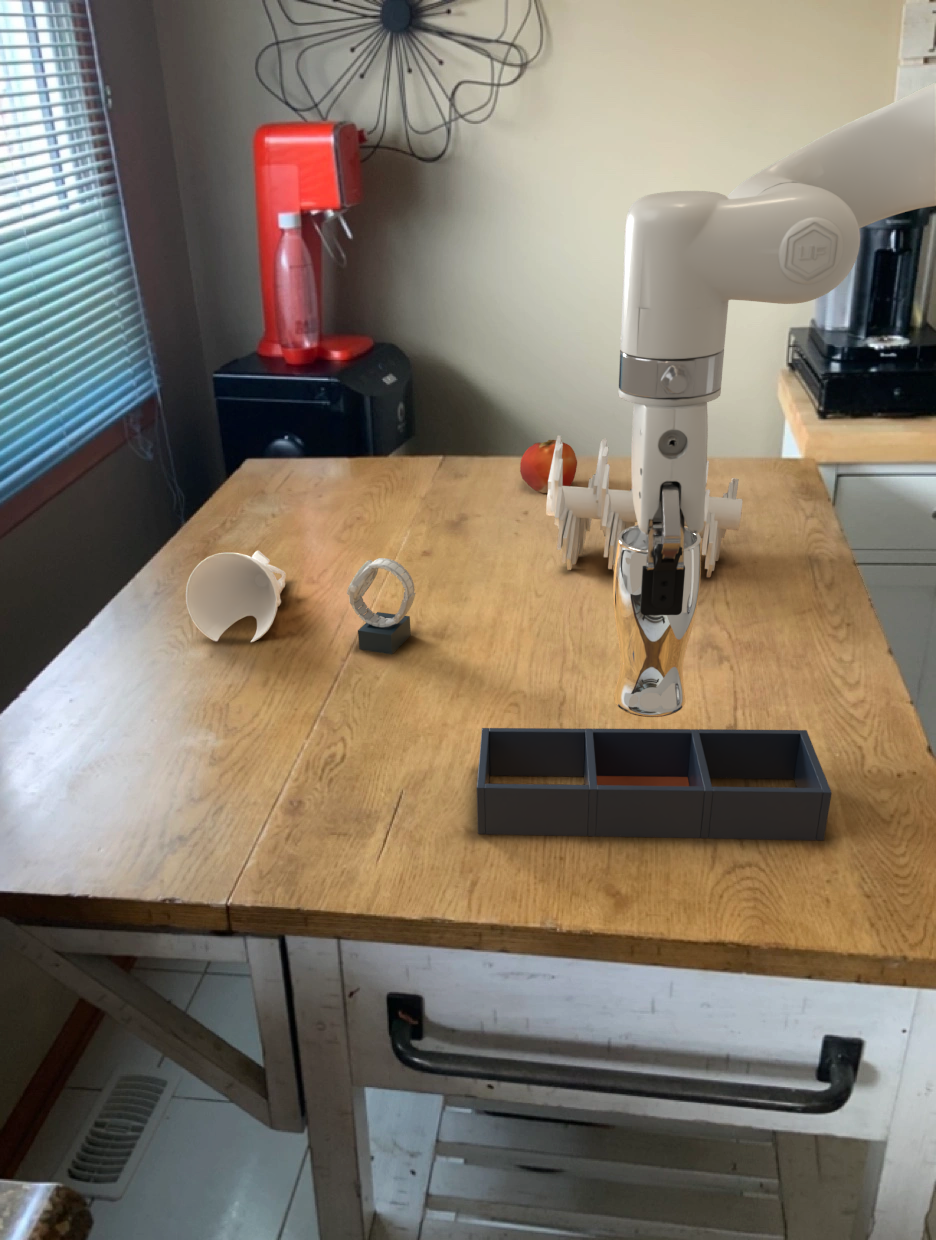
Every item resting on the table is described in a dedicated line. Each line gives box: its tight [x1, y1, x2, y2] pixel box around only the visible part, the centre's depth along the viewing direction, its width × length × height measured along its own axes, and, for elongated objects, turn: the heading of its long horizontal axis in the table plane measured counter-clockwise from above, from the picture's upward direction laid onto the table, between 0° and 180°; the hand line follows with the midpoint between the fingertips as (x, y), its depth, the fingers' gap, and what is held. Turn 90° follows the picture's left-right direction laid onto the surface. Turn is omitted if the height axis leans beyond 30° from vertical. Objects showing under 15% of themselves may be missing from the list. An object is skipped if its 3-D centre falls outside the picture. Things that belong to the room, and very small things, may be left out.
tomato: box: [519, 439, 578, 494], centre depth 182 cm, size 9×9×8 cm
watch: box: [346, 557, 416, 655], centre depth 134 cm, size 6×8×11 cm
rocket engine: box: [185, 549, 287, 643], centre depth 146 cm, size 12×12×18 cm
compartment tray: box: [476, 727, 833, 841], centre depth 102 cm, size 30×10×6 cm, turn 84°
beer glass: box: [612, 523, 702, 718], centre depth 94 cm, size 7×7×15 cm
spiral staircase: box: [545, 435, 743, 578], centre depth 149 cm, size 18×18×25 cm
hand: (656, 592), depth 93 cm, fingers closed on beer glass, 7 cm apart
